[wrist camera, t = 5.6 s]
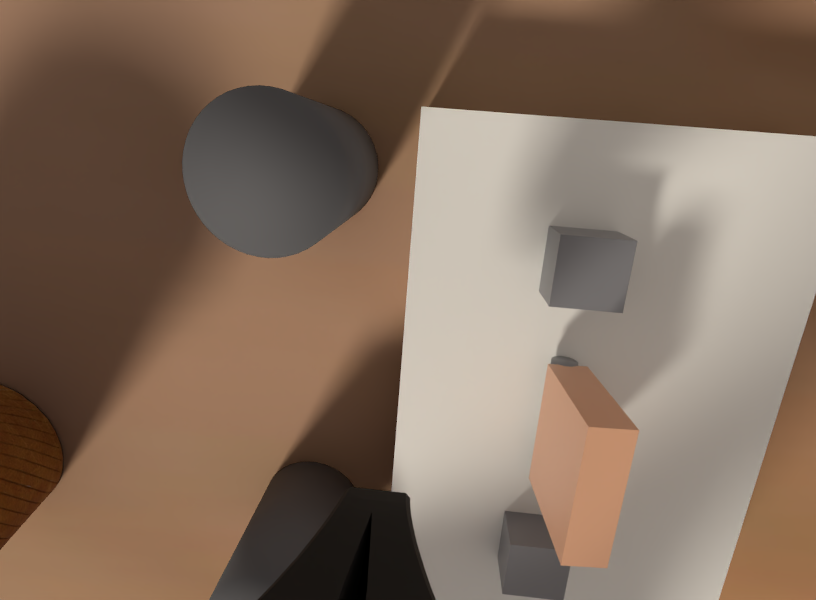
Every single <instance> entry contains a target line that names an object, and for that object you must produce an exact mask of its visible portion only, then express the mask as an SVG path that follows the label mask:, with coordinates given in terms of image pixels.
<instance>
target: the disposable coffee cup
mask: <svg viewBox="0 0 816 600" xmlns="http://www.w3.org/2000/svg"><path fill="white" fill-rule="evenodd" d="M62 469H63V455H62V450H61V445H60V442H59V439H58V437H57V435H56V432H55V430H54V429H53V427H52V425H51V424H50V422H49V421H48V419H47V418H46V417H45V416H44V415H43V414H42V413H41V412H40V410H39V409H38V408H37V407H36V406H35V405H34V404H32V403H31V402H30V401H28V400H27V399H26V398H25V397H23V396H22V395H20V394H19V393H17V392H15V391H14V390H11V389H9V388H7V387H4V386H2V385H0V549H1V548H2V547H3V546H4V545H5V544H6V543H7V541H8V540H9V539H10V538H11V537H12V536H13V535H14V534H15V532H16V531H17V530H18V529H19V528H20V527H21V525H23V523H24V522H25V521H26V520H27V519H28V518H29V516H30V515H31V514H32V513H33V512H34V511H35V510H36V509H37V507H38V506H39V505H40V504H41V502H43V501H44V500H45V498H46V497H47V496H48V495H49V494H50V493H51V492H52V491H53V490H54V488H55V487H56V485H57V483H58V482H59V480H60V476H61V473H62Z"/></svg>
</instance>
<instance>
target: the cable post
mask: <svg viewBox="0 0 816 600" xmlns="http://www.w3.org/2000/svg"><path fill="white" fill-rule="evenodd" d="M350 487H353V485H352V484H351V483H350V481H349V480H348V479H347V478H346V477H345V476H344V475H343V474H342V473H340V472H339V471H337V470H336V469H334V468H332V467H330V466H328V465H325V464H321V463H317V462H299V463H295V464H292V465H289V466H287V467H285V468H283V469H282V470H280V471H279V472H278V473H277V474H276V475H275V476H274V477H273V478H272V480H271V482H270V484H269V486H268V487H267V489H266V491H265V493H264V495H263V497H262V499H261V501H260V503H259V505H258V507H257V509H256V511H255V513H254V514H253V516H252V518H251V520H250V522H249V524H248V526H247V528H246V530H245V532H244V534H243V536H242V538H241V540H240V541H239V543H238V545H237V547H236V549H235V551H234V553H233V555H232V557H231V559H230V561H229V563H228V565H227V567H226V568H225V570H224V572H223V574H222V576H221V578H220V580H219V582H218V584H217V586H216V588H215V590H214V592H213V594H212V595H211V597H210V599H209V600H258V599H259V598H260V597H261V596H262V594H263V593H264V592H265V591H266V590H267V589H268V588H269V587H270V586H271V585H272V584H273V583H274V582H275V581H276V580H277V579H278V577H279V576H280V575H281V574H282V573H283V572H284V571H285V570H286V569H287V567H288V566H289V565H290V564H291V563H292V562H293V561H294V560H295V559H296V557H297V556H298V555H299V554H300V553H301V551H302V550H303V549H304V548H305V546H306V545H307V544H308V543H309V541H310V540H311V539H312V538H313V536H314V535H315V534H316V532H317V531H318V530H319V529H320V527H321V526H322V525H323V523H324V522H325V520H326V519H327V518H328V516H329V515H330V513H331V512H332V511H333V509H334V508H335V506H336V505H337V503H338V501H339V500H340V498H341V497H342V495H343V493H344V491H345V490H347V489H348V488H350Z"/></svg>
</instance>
